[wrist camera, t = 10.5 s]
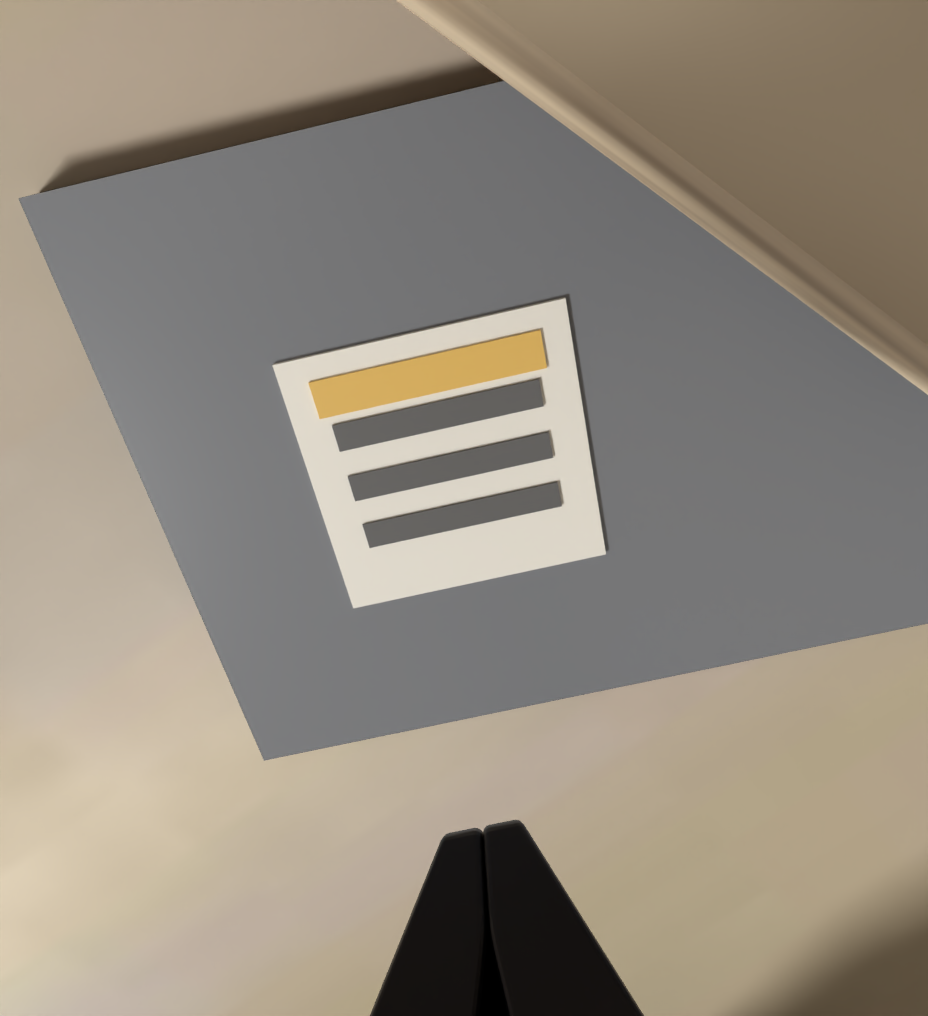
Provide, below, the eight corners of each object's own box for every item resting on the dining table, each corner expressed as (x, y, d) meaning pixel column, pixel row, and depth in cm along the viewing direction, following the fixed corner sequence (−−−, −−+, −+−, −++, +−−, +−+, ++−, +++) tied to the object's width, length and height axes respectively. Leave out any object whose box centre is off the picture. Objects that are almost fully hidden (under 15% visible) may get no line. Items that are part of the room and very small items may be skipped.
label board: (1261, 532, 21) (1298, 551, 20) (268, 739, 22) (263, 764, 21) (1439, -146, 15) (1504, -162, 14) (36, 193, 16) (14, 199, 15)
